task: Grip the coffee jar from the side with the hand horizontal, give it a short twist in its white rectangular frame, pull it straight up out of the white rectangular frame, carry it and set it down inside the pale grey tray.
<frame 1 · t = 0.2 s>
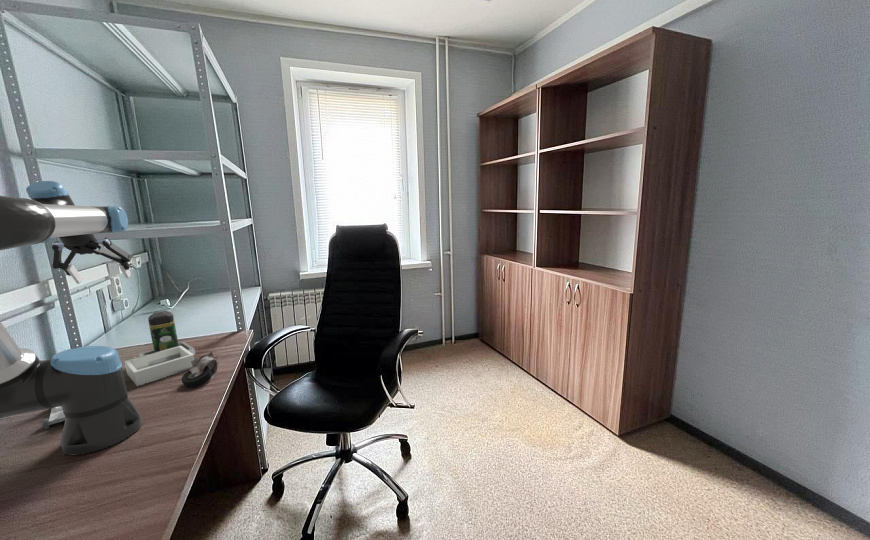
hand: (104, 278, 121), 35 cm above the table, tool tilted 35°, fingers open, 13 cm apart
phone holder: (77, 413, 100), on the table
tray: (162, 370, 125), on the table
caster wheel: (203, 380, 117), on the table
coffee jar: (168, 357, 137), resting in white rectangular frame
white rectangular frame: (168, 357, 137), on the table
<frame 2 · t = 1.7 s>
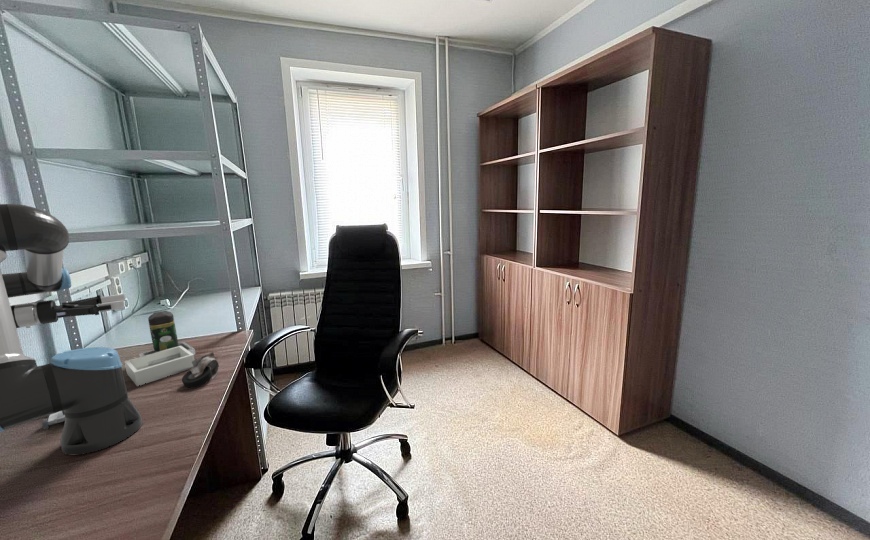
hand: (124, 300, 127), 25 cm above the table, tool horizontal, fingers open, 13 cm apart
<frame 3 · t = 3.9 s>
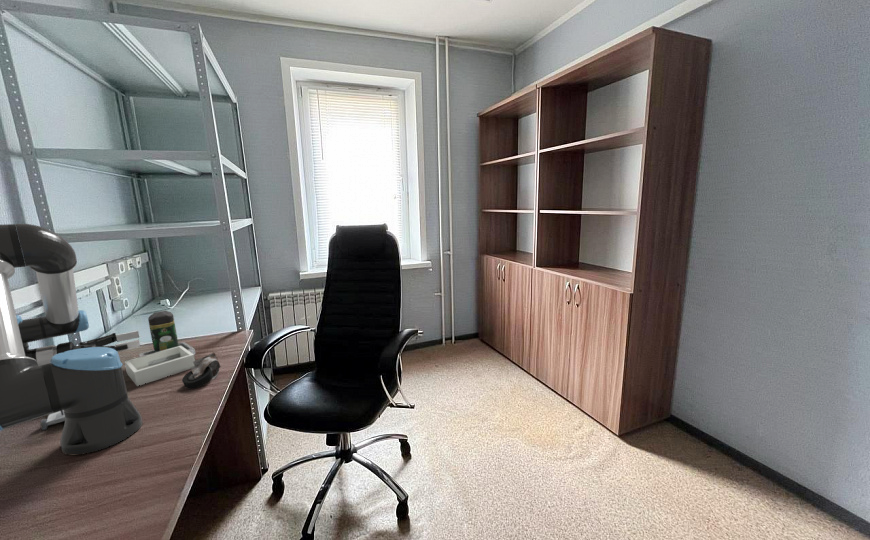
hand: (139, 338, 131), 10 cm above the table, tool horizontal, fingers open, 13 cm apart
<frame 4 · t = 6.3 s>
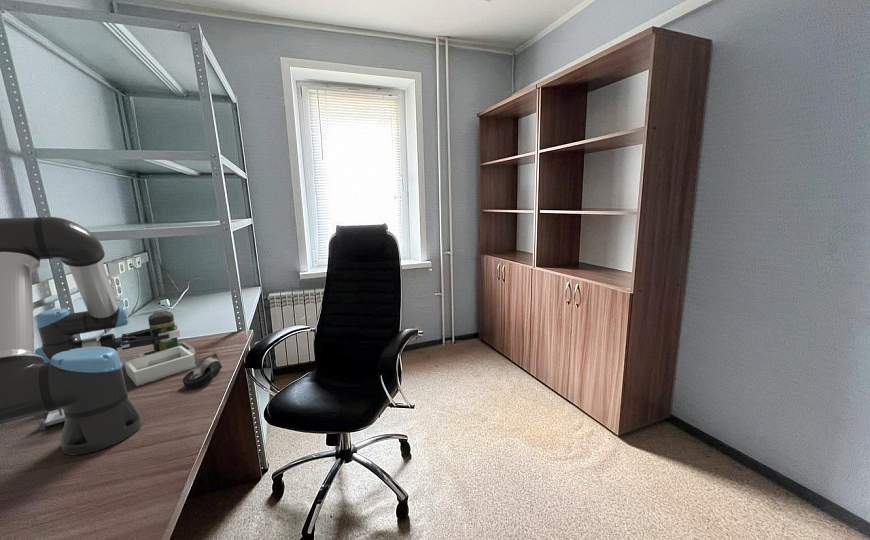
hand: (178, 330, 138), 10 cm above the table, tool horizontal, fingers closed on coffee jar, 8 cm apart
coffee jar: (168, 357, 137), resting in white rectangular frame, touching gripper
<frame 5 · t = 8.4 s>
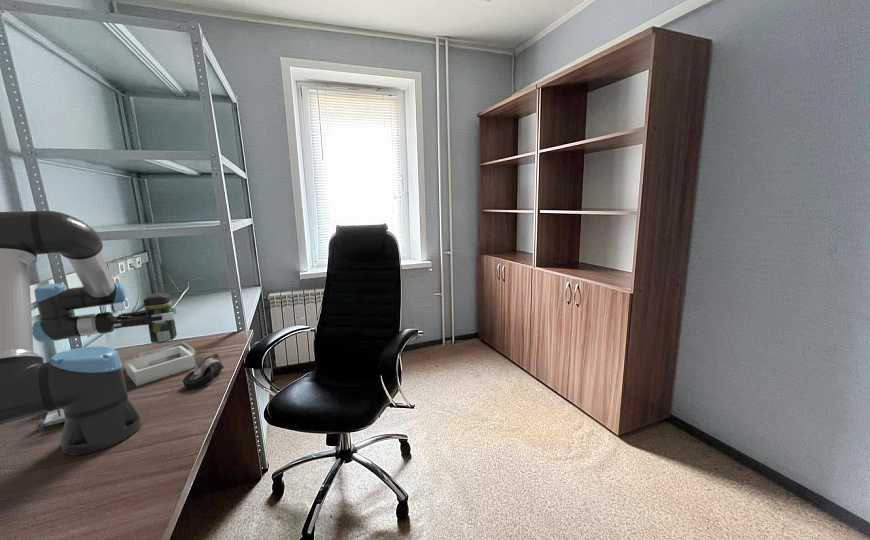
hand: (174, 312, 136), 18 cm above the table, tool horizontal, fingers closed on coffee jar, 8 cm apart
coffee jar: (164, 340, 135), point 8 cm above the table, touching gripper
when the fingers open (12 cm above the table, at t = 10.7 s): coffee jar drops 1 cm, resting on tray.
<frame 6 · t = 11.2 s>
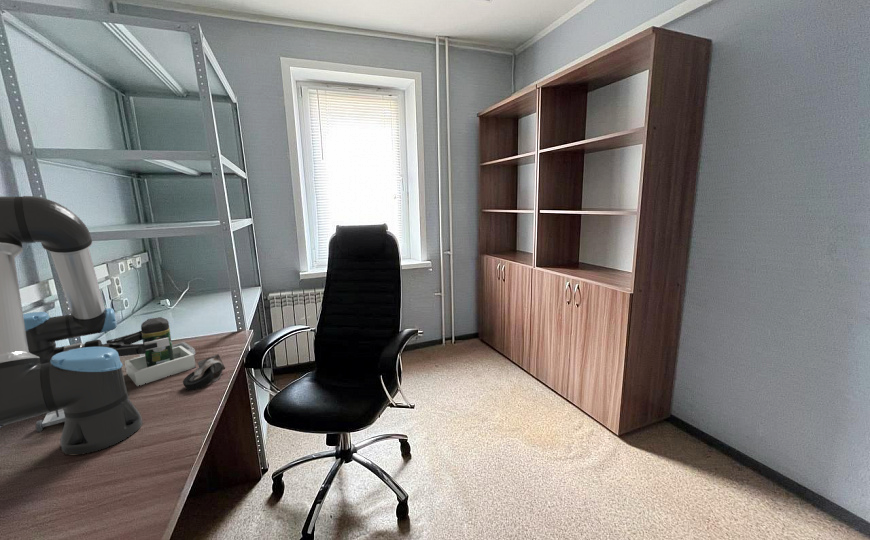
hand: (167, 336, 125), 12 cm above the table, tool horizontal, fingers open, 13 cm apart
coffee jar: (161, 368, 125), point 1 cm above the table, touching tray
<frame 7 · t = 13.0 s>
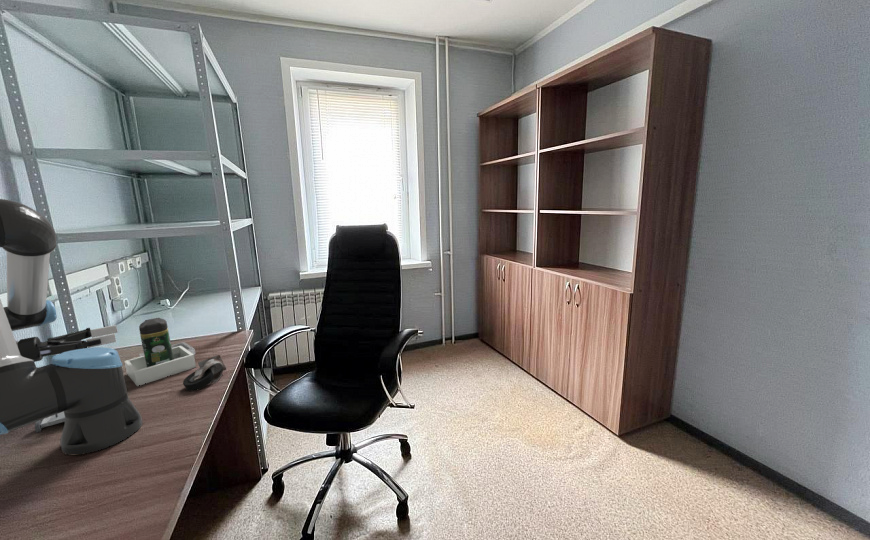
hand: (116, 333, 116), 17 cm above the table, tool horizontal, fingers open, 13 cm apart
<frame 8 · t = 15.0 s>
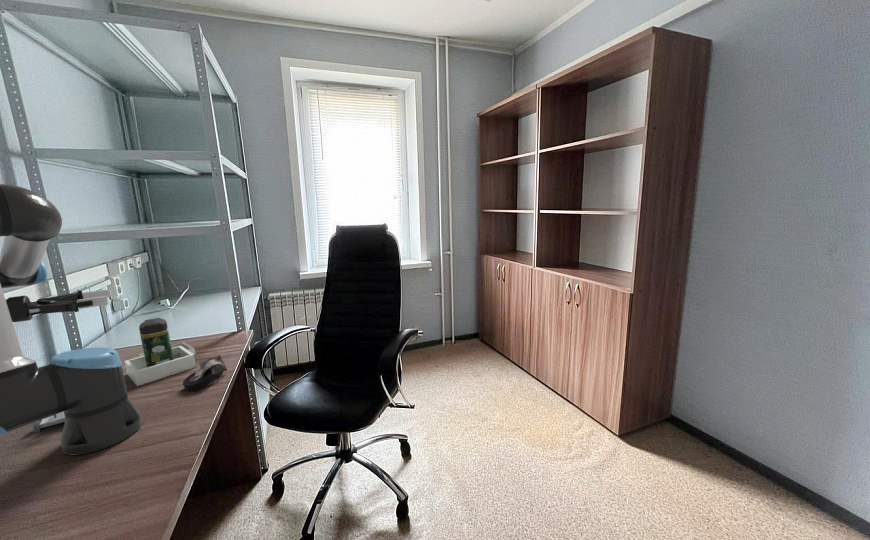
hand: (108, 296, 113), 30 cm above the table, tool horizontal, fingers open, 13 cm apart
at the end: coffee jar inside the target area on the tray (0.1 cm from its centre), point 0.6 cm above the tray's base; coffee jar tilted 0°; the gripper is holding nothing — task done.
